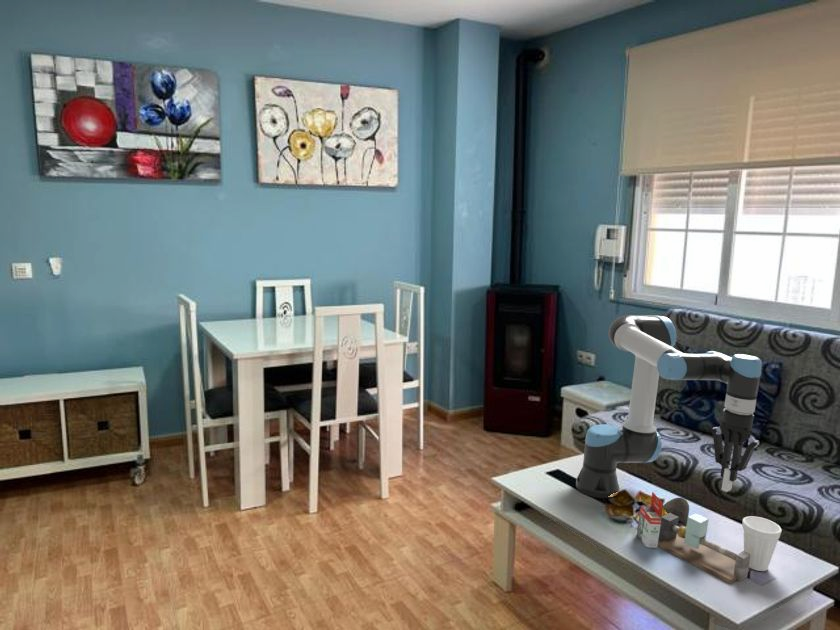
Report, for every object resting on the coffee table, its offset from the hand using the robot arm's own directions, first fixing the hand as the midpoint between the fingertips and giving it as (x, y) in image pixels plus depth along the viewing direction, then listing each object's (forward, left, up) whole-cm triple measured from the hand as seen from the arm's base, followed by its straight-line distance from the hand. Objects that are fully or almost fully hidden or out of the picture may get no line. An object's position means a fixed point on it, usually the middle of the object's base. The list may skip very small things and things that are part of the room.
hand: (726, 489), depth 173 cm
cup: (+7, +10, -24) cm, 26 cm away
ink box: (-19, -6, -24) cm, 31 cm away
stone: (-22, +16, -24) cm, 36 cm away
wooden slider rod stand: (-4, 0, -23) cm, 24 cm away
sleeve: (-7, 0, -20) cm, 21 cm away
